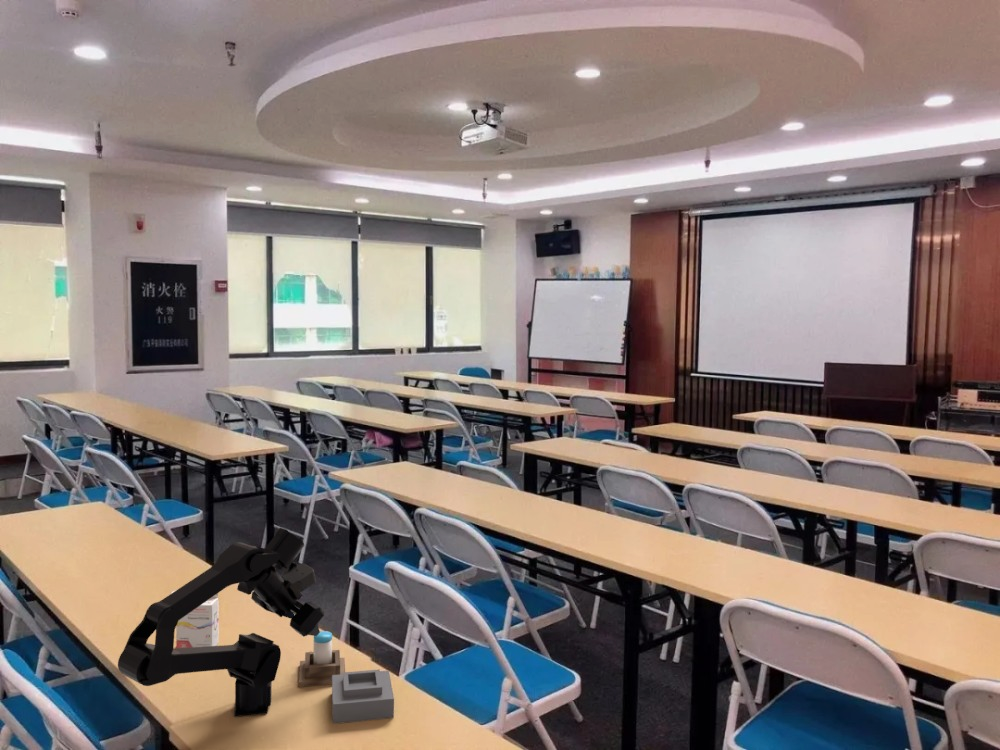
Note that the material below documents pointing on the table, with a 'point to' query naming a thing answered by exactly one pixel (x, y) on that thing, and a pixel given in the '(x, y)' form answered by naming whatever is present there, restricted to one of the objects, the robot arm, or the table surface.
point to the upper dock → (362, 696)
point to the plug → (323, 648)
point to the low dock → (320, 670)
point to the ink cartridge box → (199, 626)
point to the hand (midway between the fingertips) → (305, 625)
